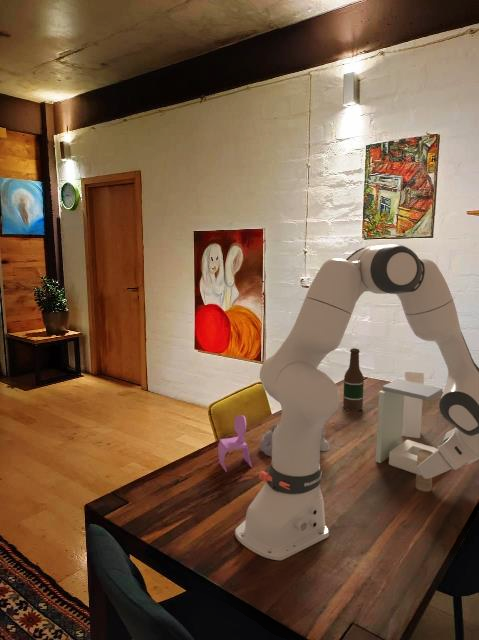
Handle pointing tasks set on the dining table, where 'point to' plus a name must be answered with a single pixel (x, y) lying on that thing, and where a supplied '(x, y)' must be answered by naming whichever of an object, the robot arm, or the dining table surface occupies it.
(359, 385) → the beer bottle
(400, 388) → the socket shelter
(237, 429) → the toy chair
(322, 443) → the chalice
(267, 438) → the grey conch shell
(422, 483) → the peg
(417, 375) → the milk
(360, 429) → the dining table surface
